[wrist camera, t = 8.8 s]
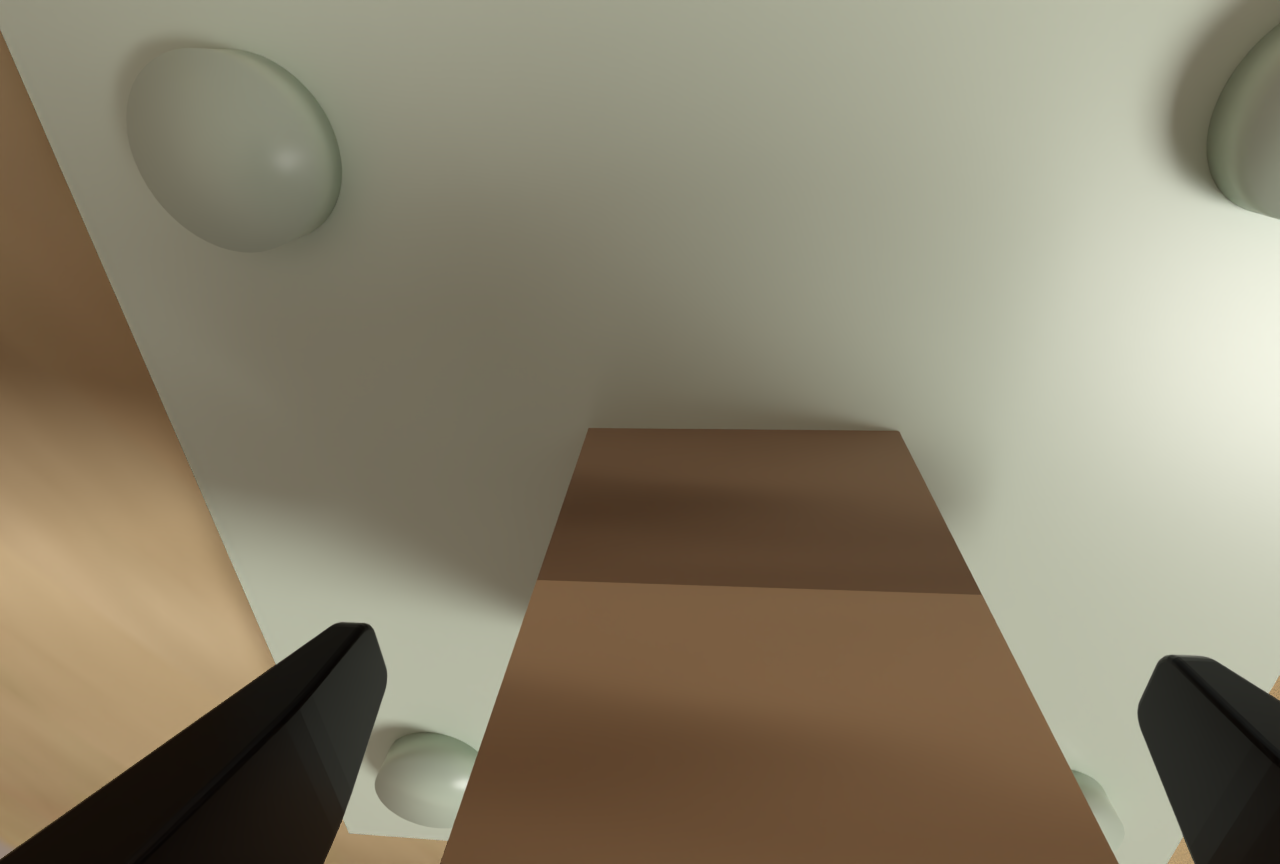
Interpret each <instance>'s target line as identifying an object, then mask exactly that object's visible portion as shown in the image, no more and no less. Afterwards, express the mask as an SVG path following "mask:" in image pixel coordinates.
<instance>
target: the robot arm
mask: <svg viewBox="0 0 1280 864" xmlns="http://www.w3.org/2000/svg"><path fill="white" fill-rule="evenodd" d="M386 685H387V668H386V665H385V661H384V658H383V655H382V652H381V649H380V646H379V643H378V640H377V637H376V634H375V631H374V629H373V627H372V626H371V625H369V624H367V623H356V622H339V623H335V624H333V625H331V626H330V627H328V628H327V629H325V630H324V631H323V632H321V633H320V634H318V635H317V636H316V637H314V638H313V639H311V640H310V641H308V642H307V643H306V644H304V645H303V646H301V647H300V648H299V649H297V650H296V651H294V652H293V653H291V654H290V655H289V656H287V657H286V658H284V659H283V660H282V661H280V662H279V663H277V664H276V665H275V666H273V667H272V668H270V669H269V670H267V671H266V672H265V673H263V674H262V675H260V676H259V677H258V678H256V679H255V680H253V681H252V682H250V683H249V684H248V685H246V686H245V687H243V688H242V689H241V690H239V691H238V692H236V693H235V694H233V695H232V696H231V697H229V698H228V699H226V700H225V701H224V702H222V703H221V704H219V705H218V706H217V707H215V708H214V709H212V710H211V711H209V712H208V713H207V714H205V715H204V716H202V717H201V718H200V719H198V720H197V721H195V722H194V723H192V724H191V725H190V726H188V727H187V728H185V729H184V730H183V731H181V732H180V733H178V734H177V735H175V736H174V737H173V738H171V739H170V740H168V741H167V742H166V743H164V744H163V745H161V746H160V747H159V748H157V749H156V750H154V751H153V752H151V753H150V754H149V755H147V756H146V757H144V758H143V759H142V760H140V761H139V762H137V763H136V764H134V765H133V766H132V767H130V768H129V769H127V770H126V771H125V772H123V773H122V774H120V775H119V776H117V777H116V778H115V779H113V780H112V781H110V782H109V783H108V784H106V785H105V786H103V787H102V788H101V789H99V790H98V791H96V792H95V793H93V794H92V795H91V796H89V797H88V798H86V799H85V800H84V801H82V802H81V803H79V804H78V805H76V806H75V807H74V808H72V809H71V810H69V811H68V812H67V813H65V814H64V815H62V816H61V817H59V818H58V819H57V820H55V821H54V822H52V823H51V824H50V825H48V826H47V827H45V828H44V829H42V830H41V831H40V832H38V833H37V834H35V835H34V836H33V837H31V838H30V839H28V840H27V841H25V842H24V843H23V844H21V845H20V846H18V847H17V848H16V849H14V850H13V851H11V852H10V853H8V854H7V855H6V856H4V857H3V858H1V859H0V864H324V861H325V859H326V857H327V855H328V852H329V850H330V848H331V845H332V843H333V841H334V839H335V836H336V834H337V831H338V829H339V827H340V824H341V822H342V819H343V817H344V814H345V812H346V809H347V806H348V803H349V800H350V797H351V795H352V792H353V789H354V786H355V782H356V779H357V776H358V773H359V770H360V767H361V764H362V761H363V758H364V755H365V752H366V749H367V745H368V742H369V739H370V736H371V733H372V730H373V727H374V724H375V721H376V718H377V715H378V712H379V708H380V705H381V702H382V699H383V696H384V693H385V690H386ZM1137 716H1138V722H1139V726H1140V729H1141V732H1142V735H1143V737H1144V740H1145V742H1146V745H1147V747H1148V750H1149V752H1150V755H1151V757H1152V760H1153V762H1154V765H1155V767H1156V770H1157V772H1158V775H1159V777H1160V780H1161V782H1162V785H1163V787H1164V790H1165V792H1166V795H1167V797H1168V799H1169V802H1170V804H1171V807H1172V809H1173V812H1174V814H1175V817H1176V819H1177V822H1178V824H1179V827H1180V829H1181V832H1182V834H1183V837H1184V839H1185V842H1186V844H1187V847H1188V849H1189V852H1190V854H1191V856H1192V859H1193V861H1194V863H1195V864H1280V701H1279V700H1278V699H1276V698H1275V697H1273V696H1272V695H1270V694H1268V693H1267V692H1265V691H1264V690H1262V689H1260V688H1259V687H1257V686H1256V685H1254V684H1252V683H1251V682H1249V681H1248V680H1246V679H1245V678H1243V677H1241V676H1240V675H1238V674H1237V673H1235V672H1233V671H1232V670H1230V669H1229V668H1227V667H1226V666H1224V665H1222V664H1221V663H1219V662H1217V661H1216V660H1214V659H1212V658H1209V657H1205V656H1197V655H1171V654H1170V655H1165V656H1164V657H1162V658H1161V659H1160V660H1159V661H1158V662H1157V664H1156V666H1155V668H1154V670H1153V673H1152V675H1151V677H1150V679H1149V681H1148V683H1147V686H1146V688H1145V690H1144V692H1143V694H1142V696H1141V699H1140V701H1139V704H1138V710H1137Z"/></svg>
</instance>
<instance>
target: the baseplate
mask: <svg viewBox="0 0 1280 864" xmlns="http://www.w3.org/2000/svg"><path fill="white" fill-rule="evenodd" d="M0 30H1V32H2V35H3V37H4V39H5V42H6V44H7V46H8V49H9V51H10V53H11V56H12V58H13V60H14V62H15V65H16V67H17V69H18V72H19V74H20V76H21V79H22V81H23V83H24V85H25V88H26V90H27V92H28V95H29V97H30V99H31V102H32V104H33V106H34V109H35V111H36V113H37V115H38V118H39V120H40V122H41V125H42V127H43V129H44V132H45V134H46V136H47V138H48V141H49V143H50V145H51V148H52V150H53V152H54V155H55V157H56V159H57V161H58V164H59V166H60V168H61V171H62V173H63V175H64V178H65V180H66V182H67V185H68V187H69V189H70V191H71V194H72V196H73V198H74V201H75V203H76V205H77V208H78V210H79V212H80V214H81V217H82V219H83V221H84V224H85V226H86V228H87V231H88V233H89V235H90V237H91V240H92V242H93V244H94V247H95V249H96V251H97V254H98V256H99V258H100V261H101V263H102V265H103V267H104V270H105V272H106V274H107V277H108V279H109V281H110V284H111V286H112V288H113V290H114V293H115V295H116V297H117V300H118V302H119V304H120V307H121V309H122V311H123V313H124V316H125V318H126V320H127V323H128V325H129V327H130V330H131V332H132V334H133V337H134V339H135V341H136V343H137V346H138V348H139V350H140V353H141V355H142V357H143V360H144V362H145V364H146V366H147V369H148V371H149V373H150V376H151V378H152V380H153V383H154V385H155V387H156V390H157V392H158V394H159V396H160V399H161V401H162V403H163V406H164V408H165V410H166V413H167V415H168V417H169V419H170V422H171V424H172V426H173V429H174V431H175V433H176V436H177V438H178V440H179V442H180V445H181V447H182V449H183V452H184V454H185V456H186V459H187V461H188V463H189V466H190V468H191V470H192V472H193V475H194V477H195V479H196V482H197V484H198V486H199V489H200V491H201V493H202V495H203V498H204V500H205V502H206V505H207V507H208V509H209V512H210V514H211V516H212V518H213V521H214V523H215V525H216V528H217V530H218V532H219V535H220V537H221V539H222V542H223V544H224V546H225V548H226V551H227V553H228V555H229V558H230V560H231V562H232V565H233V567H234V569H235V571H236V574H237V576H238V578H239V581H240V583H241V585H242V588H243V590H244V592H245V594H246V597H247V599H248V601H249V604H250V606H251V608H252V611H253V613H254V615H255V618H256V620H257V622H258V624H259V627H260V629H261V631H262V634H263V636H264V638H265V641H266V643H267V645H268V647H269V650H270V652H271V654H272V657H273V659H274V661H275V664H277V663H279V662H280V661H282V660H283V659H284V658H286V657H287V656H289V655H290V654H291V653H293V652H294V651H296V650H297V649H299V648H300V647H301V646H303V645H304V644H306V643H307V642H308V641H310V640H311V639H313V638H314V637H316V636H317V635H318V634H320V633H321V632H323V631H324V630H325V629H327V628H328V627H330V626H331V625H333V624H335V623H339V622H356V623H367V624H369V625H371V626H372V627H373V629H374V631H375V634H376V637H377V640H378V643H379V646H380V649H381V652H382V655H383V658H384V661H385V665H386V668H387V685H386V690H385V693H384V696H383V699H382V702H381V705H380V708H379V712H378V715H377V718H376V721H375V724H374V727H373V730H372V733H371V736H370V739H369V742H368V745H367V749H366V752H365V755H364V758H363V761H362V764H361V767H360V770H359V773H358V776H357V779H356V782H355V786H354V789H353V792H352V795H351V797H350V800H349V803H348V806H347V809H346V812H345V814H344V817H343V820H344V823H345V825H346V827H347V829H348V832H349V833H351V834H364V835H378V836H391V837H405V838H418V839H432V840H445V841H448V839H449V836H450V833H451V830H452V827H453V824H454V821H455V819H456V816H457V813H458V810H459V807H460V804H461V801H462V798H463V795H464V792H465V789H466V786H467V783H468V780H469V777H470V775H471V772H472V769H473V766H474V763H475V760H476V757H477V754H478V751H479V748H480V745H481V742H482V739H483V736H484V733H485V731H486V728H487V725H488V722H489V719H490V716H491V713H492V710H493V707H494V704H495V701H496V698H497V695H498V692H499V689H500V686H501V684H502V681H503V678H504V675H505V672H506V669H507V666H508V663H509V660H510V657H511V654H512V651H513V648H514V645H515V642H516V640H517V637H518V634H519V631H520V628H521V625H522V622H523V619H524V616H525V613H526V610H527V607H528V604H529V601H530V598H531V595H532V593H533V590H534V587H535V584H536V581H537V578H538V575H539V572H540V569H541V566H542V563H543V560H544V557H545V554H546V551H547V549H548V546H549V543H550V540H551V537H552V534H553V531H554V528H555V525H556V522H557V519H558V516H559V513H560V510H561V507H562V505H563V502H564V499H565V496H566V493H567V490H568V487H569V484H570V481H571V478H572V475H573V472H574V469H575V466H576V463H577V460H578V458H579V455H580V452H581V449H582V446H583V443H584V440H585V437H586V434H587V431H588V428H645V429H754V430H862V431H899V432H900V434H901V436H902V438H903V440H904V442H905V444H906V446H907V448H908V450H909V452H910V454H911V456H912V458H913V460H914V462H915V464H916V466H917V468H918V469H919V471H920V473H921V475H922V477H923V479H924V481H925V483H926V485H927V487H928V489H929V491H930V493H931V495H932V497H933V499H934V501H935V503H936V505H937V507H938V509H939V511H940V513H941V515H942V517H943V519H944V521H945V523H946V525H947V527H948V529H949V531H950V532H951V534H952V536H953V538H954V540H955V542H956V544H957V546H958V548H959V550H960V552H961V554H962V556H963V558H964V560H965V562H966V564H967V566H968V568H969V570H970V572H971V574H972V576H973V578H974V580H975V582H976V584H977V586H978V588H979V590H980V592H981V594H982V595H983V597H984V599H985V601H986V603H987V605H988V607H989V609H990V611H991V613H992V615H993V617H994V619H995V621H996V623H997V625H998V627H999V629H1000V631H1001V633H1002V635H1003V637H1004V639H1005V641H1006V643H1007V645H1008V647H1009V649H1010V651H1011V653H1012V655H1013V657H1014V659H1015V660H1016V662H1017V664H1018V666H1019V668H1020V670H1021V672H1022V674H1023V676H1024V678H1025V680H1026V682H1027V684H1028V686H1029V688H1030V690H1031V692H1032V694H1033V696H1034V698H1035V700H1036V702H1037V704H1038V706H1039V708H1040V710H1041V712H1042V714H1043V716H1044V718H1045V720H1046V722H1047V723H1048V725H1049V727H1050V729H1051V731H1052V733H1053V735H1054V737H1055V739H1056V741H1057V743H1058V745H1059V747H1060V749H1061V751H1062V753H1063V755H1064V757H1065V759H1066V761H1067V763H1068V765H1069V767H1070V769H1071V771H1072V773H1073V775H1074V777H1075V779H1076V781H1077V783H1078V785H1079V786H1080V788H1081V790H1082V792H1083V794H1084V796H1085V798H1086V800H1087V802H1088V804H1089V806H1090V808H1091V810H1092V812H1093V814H1094V816H1095V818H1096V820H1097V822H1098V824H1099V826H1100V828H1101V830H1102V832H1103V834H1104V836H1105V838H1106V840H1107V842H1108V844H1109V846H1110V848H1111V850H1112V851H1113V853H1114V855H1115V857H1116V859H1117V861H1118V863H1119V864H1167V863H1168V861H1169V860H1170V858H1171V856H1172V855H1173V853H1174V851H1175V850H1176V848H1177V846H1178V844H1179V843H1180V841H1181V839H1182V838H1183V834H1182V832H1181V829H1180V827H1179V824H1178V822H1177V819H1176V817H1175V814H1174V812H1173V809H1172V807H1171V804H1170V802H1169V799H1168V797H1167V795H1166V792H1165V790H1164V787H1163V785H1162V782H1161V780H1160V777H1159V775H1158V772H1157V770H1156V767H1155V765H1154V762H1153V760H1152V757H1151V755H1150V752H1149V750H1148V747H1147V745H1146V742H1145V740H1144V737H1143V735H1142V732H1141V729H1140V726H1139V722H1138V716H1137V710H1138V704H1139V701H1140V699H1141V696H1142V694H1143V692H1144V690H1145V688H1146V686H1147V683H1148V681H1149V679H1150V677H1151V675H1152V673H1153V670H1154V668H1155V666H1156V664H1157V662H1158V661H1159V660H1160V659H1161V658H1162V657H1164V656H1165V655H1170V654H1171V655H1197V656H1205V657H1209V658H1212V659H1214V660H1216V661H1217V662H1219V663H1221V664H1222V665H1224V666H1226V667H1227V668H1229V669H1230V670H1232V671H1233V672H1235V673H1237V674H1238V675H1240V676H1241V677H1243V678H1245V679H1246V680H1248V681H1249V682H1251V683H1252V684H1254V685H1256V686H1257V687H1259V688H1260V689H1262V690H1264V691H1265V692H1267V693H1268V694H1269V692H1270V690H1271V689H1272V687H1273V685H1274V684H1275V682H1276V680H1277V679H1278V677H1279V675H1280V0H0Z"/></svg>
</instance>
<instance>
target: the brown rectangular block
mask: <svg viewBox="0 0 1280 864" xmlns="http://www.w3.org/2000/svg"><path fill="white" fill-rule="evenodd" d="M440 864H1119V863H1118V861H1117V859H1116V857H1115V855H1114V853H1113V851H1112V850H1111V848H1110V846H1109V844H1108V842H1107V840H1106V838H1105V836H1104V834H1103V832H1102V830H1101V828H1100V826H1099V824H1098V822H1097V820H1096V818H1095V816H1094V814H1093V812H1092V810H1091V808H1090V806H1089V804H1088V802H1087V800H1086V798H1085V796H1084V794H1083V792H1082V790H1081V788H1080V786H1079V785H1078V783H1077V781H1076V779H1075V777H1074V775H1073V773H1072V771H1071V769H1070V767H1069V765H1068V763H1067V761H1066V759H1065V757H1064V755H1063V753H1062V751H1061V749H1060V747H1059V745H1058V743H1057V741H1056V739H1055V737H1054V735H1053V733H1052V731H1051V729H1050V727H1049V725H1048V723H1047V722H1046V720H1045V718H1044V716H1043V714H1042V712H1041V710H1040V708H1039V706H1038V704H1037V702H1036V700H1035V698H1034V696H1033V694H1032V692H1031V690H1030V688H1029V686H1028V684H1027V682H1026V680H1025V678H1024V676H1023V674H1022V672H1021V670H1020V668H1019V666H1018V664H1017V662H1016V660H1015V659H1014V657H1013V655H1012V653H1011V651H1010V649H1009V647H1008V645H1007V643H1006V641H1005V639H1004V637H1003V635H1002V633H1001V631H1000V629H999V627H998V625H997V623H996V621H995V619H994V617H993V615H992V613H991V611H990V609H989V607H988V605H987V603H986V601H985V599H984V597H983V595H982V594H981V592H980V590H979V588H978V586H977V584H976V582H975V580H974V578H973V576H972V574H971V572H970V570H969V568H968V566H967V564H966V562H965V560H964V558H963V556H962V554H961V552H960V550H959V548H958V546H957V544H956V542H955V540H954V538H953V536H952V534H951V532H950V531H949V529H948V527H947V525H946V523H945V521H944V519H943V517H942V515H941V513H940V511H939V509H938V507H937V505H936V503H935V501H934V499H933V497H932V495H931V493H930V491H929V489H928V487H927V485H926V483H925V481H924V479H923V477H922V475H921V473H920V471H919V469H918V468H917V466H916V464H915V462H914V460H913V458H912V456H911V454H910V452H909V450H908V448H907V446H906V444H905V442H904V440H903V438H902V436H901V434H900V432H899V431H862V430H754V429H645V428H588V431H587V434H586V437H585V440H584V443H583V446H582V449H581V452H580V455H579V458H578V460H577V463H576V466H575V469H574V472H573V475H572V478H571V481H570V484H569V487H568V490H567V493H566V496H565V499H564V502H563V505H562V507H561V510H560V513H559V516H558V519H557V522H556V525H555V528H554V531H553V534H552V537H551V540H550V543H549V546H548V549H547V551H546V554H545V557H544V560H543V563H542V566H541V569H540V572H539V575H538V578H537V581H536V584H535V587H534V590H533V593H532V595H531V598H530V601H529V604H528V607H527V610H526V613H525V616H524V619H523V622H522V625H521V628H520V631H519V634H518V637H517V640H516V642H515V645H514V648H513V651H512V654H511V657H510V660H509V663H508V666H507V669H506V672H505V675H504V678H503V681H502V684H501V686H500V689H499V692H498V695H497V698H496V701H495V704H494V707H493V710H492V713H491V716H490V719H489V722H488V725H487V728H486V731H485V733H484V736H483V739H482V742H481V745H480V748H479V751H478V754H477V757H476V760H475V763H474V766H473V769H472V772H471V775H470V777H469V780H468V783H467V786H466V789H465V792H464V795H463V798H462V801H461V804H460V807H459V810H458V813H457V816H456V819H455V821H454V824H453V827H452V830H451V833H450V836H449V839H448V842H447V845H446V848H445V851H444V854H443V857H442V860H441V863H440Z"/></svg>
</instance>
